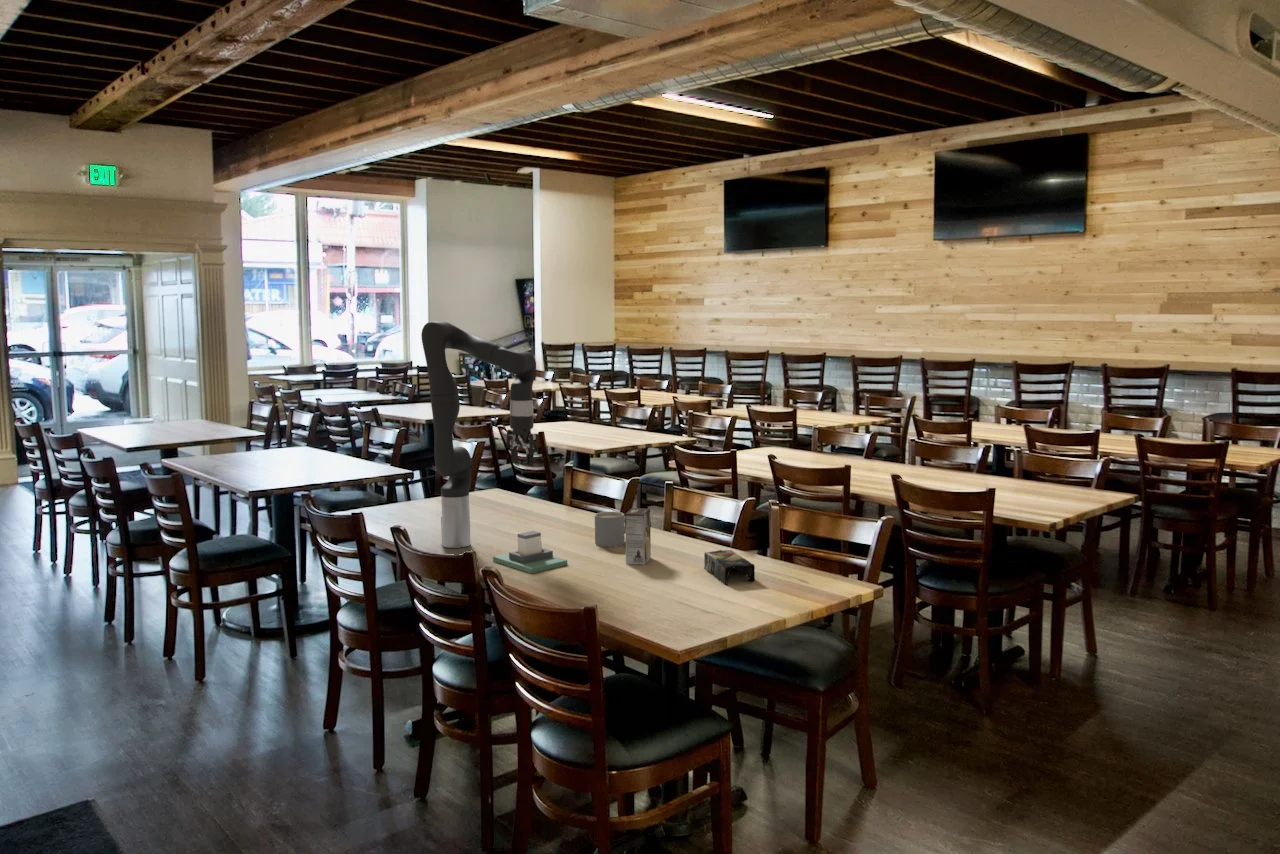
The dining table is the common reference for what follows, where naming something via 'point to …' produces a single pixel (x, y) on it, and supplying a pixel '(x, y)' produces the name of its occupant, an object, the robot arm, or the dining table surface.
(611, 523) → the coffee mug
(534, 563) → the header board
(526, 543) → the plug
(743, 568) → the juice carton
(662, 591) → the dining table surface
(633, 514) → the coffee box
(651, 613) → the dining table surface
